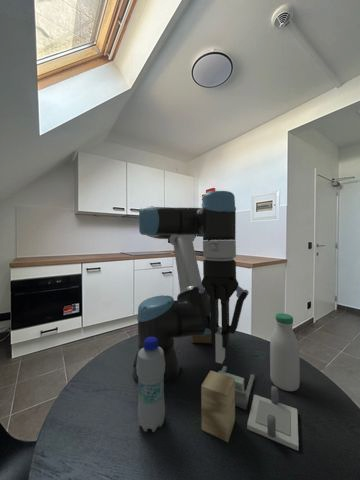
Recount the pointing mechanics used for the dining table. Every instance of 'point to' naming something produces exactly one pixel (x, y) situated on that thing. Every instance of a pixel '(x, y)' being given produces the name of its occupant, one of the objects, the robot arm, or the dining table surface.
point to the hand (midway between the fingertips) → (220, 359)
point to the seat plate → (279, 435)
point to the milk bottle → (284, 354)
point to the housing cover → (238, 380)
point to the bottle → (151, 385)
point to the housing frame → (242, 393)
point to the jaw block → (218, 405)
